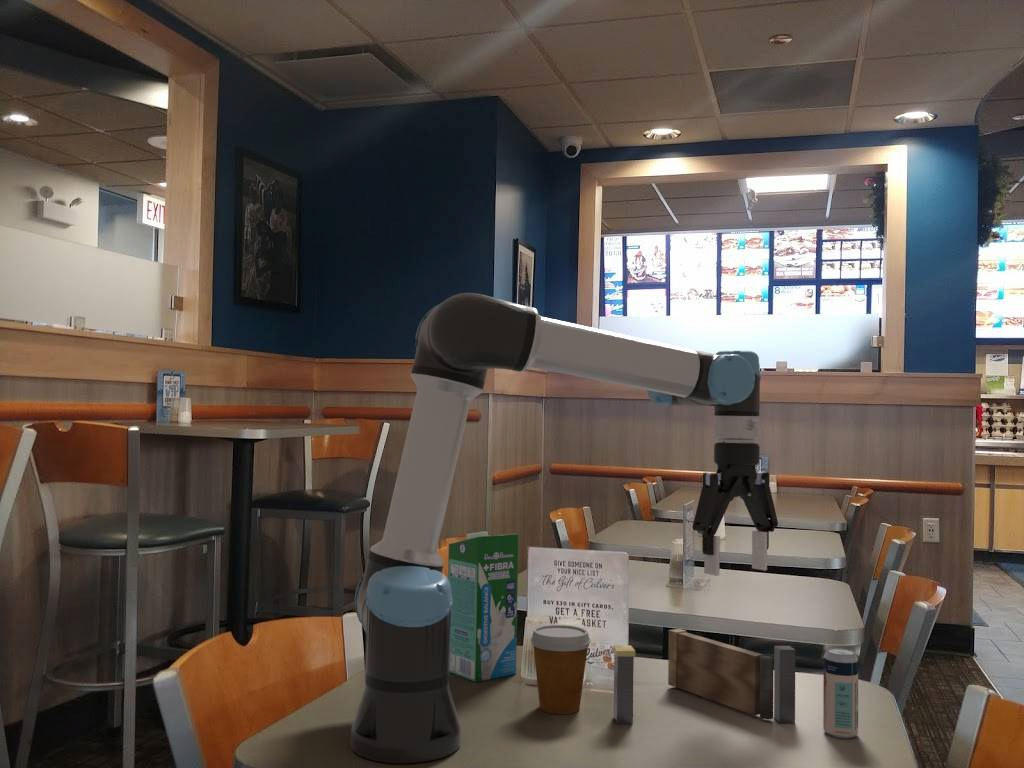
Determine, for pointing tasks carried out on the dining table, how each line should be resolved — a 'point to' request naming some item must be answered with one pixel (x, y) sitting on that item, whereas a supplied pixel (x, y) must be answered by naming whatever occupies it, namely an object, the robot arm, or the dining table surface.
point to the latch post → (623, 683)
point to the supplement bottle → (840, 693)
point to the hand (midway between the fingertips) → (736, 571)
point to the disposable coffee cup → (560, 666)
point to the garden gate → (721, 672)
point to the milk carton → (483, 606)
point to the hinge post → (784, 684)
